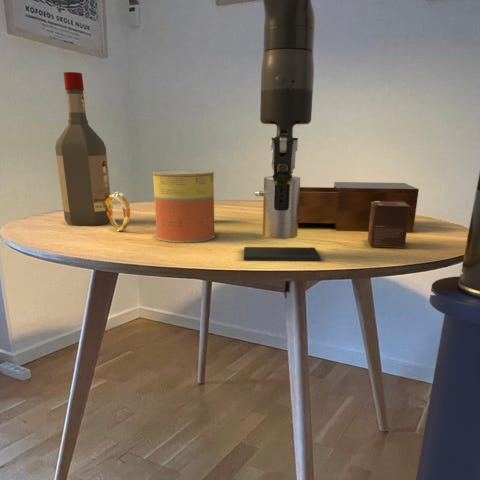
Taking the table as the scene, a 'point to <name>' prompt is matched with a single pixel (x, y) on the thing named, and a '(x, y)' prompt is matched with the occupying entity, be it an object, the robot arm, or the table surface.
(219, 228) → the table surface
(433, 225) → the table surface
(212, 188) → the canned food
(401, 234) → the box
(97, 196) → the liquor
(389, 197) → the cabinet
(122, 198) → the ring
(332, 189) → the drawer
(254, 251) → the trivet
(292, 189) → the measuring cup
